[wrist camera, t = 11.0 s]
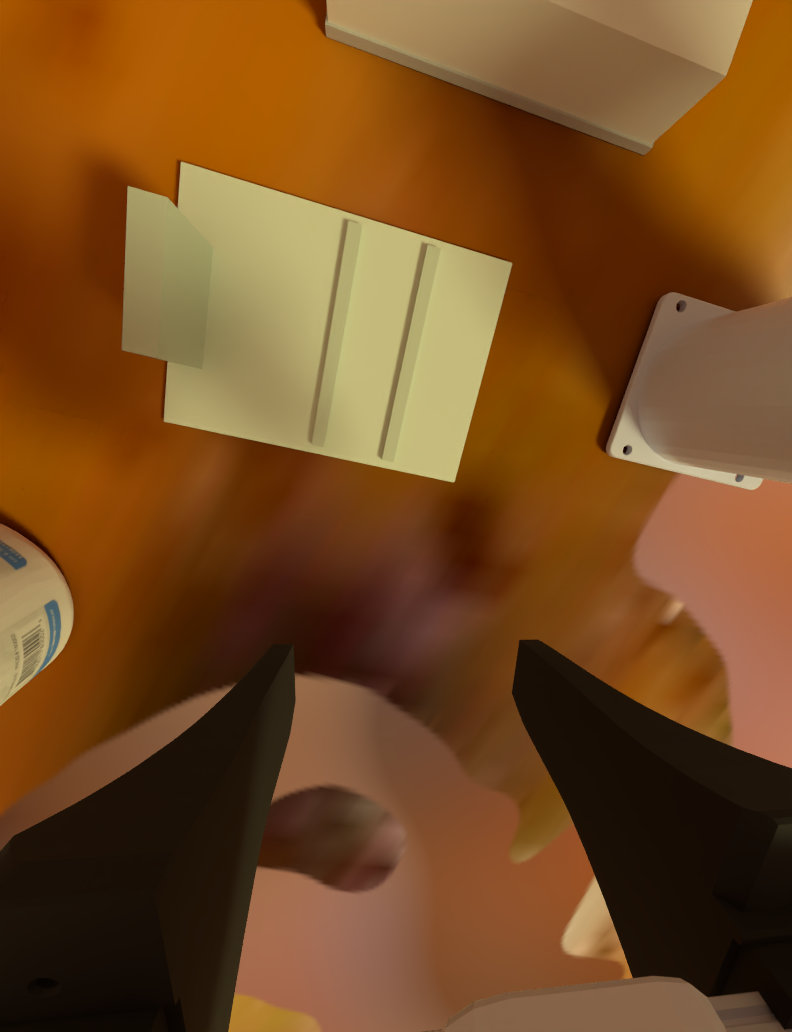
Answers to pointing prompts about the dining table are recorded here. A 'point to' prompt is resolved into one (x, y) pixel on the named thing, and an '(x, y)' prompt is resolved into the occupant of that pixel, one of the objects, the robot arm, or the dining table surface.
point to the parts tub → (560, 54)
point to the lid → (308, 323)
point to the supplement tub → (29, 611)
